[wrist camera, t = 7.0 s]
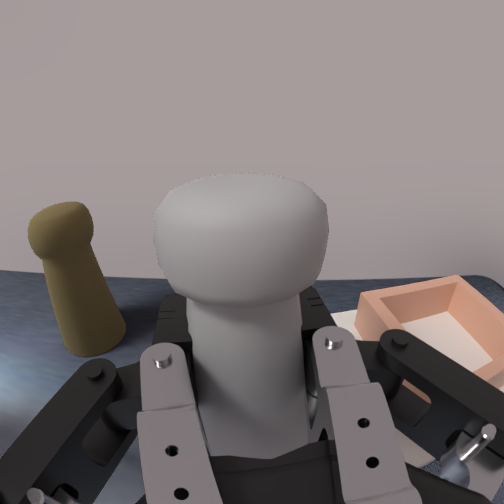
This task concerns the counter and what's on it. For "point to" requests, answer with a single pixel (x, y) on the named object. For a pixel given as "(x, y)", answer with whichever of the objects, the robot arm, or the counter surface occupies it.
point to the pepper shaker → (76, 279)
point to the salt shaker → (245, 301)
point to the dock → (434, 331)
